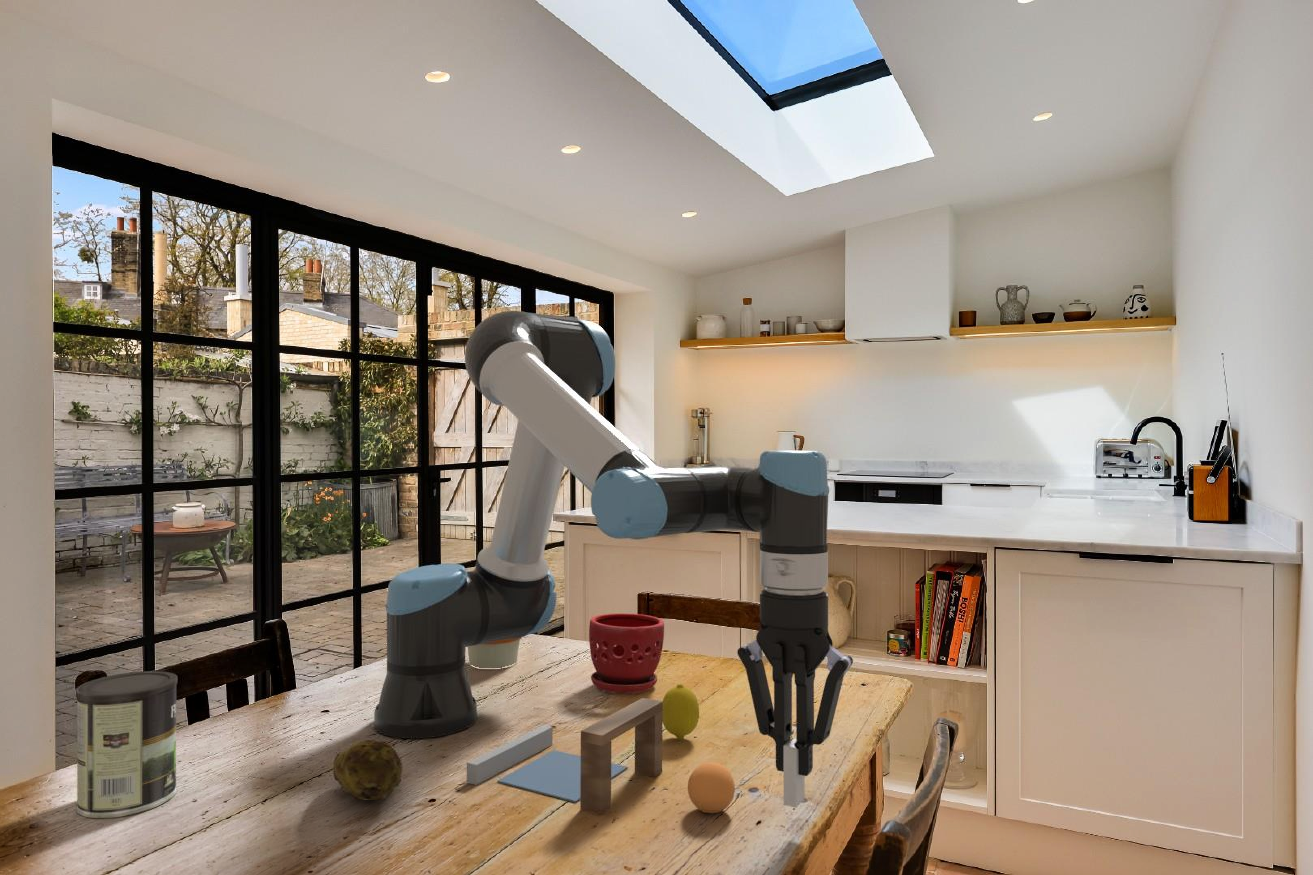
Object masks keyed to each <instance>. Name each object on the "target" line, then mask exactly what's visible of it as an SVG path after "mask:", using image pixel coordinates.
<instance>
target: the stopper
mask: <svg viewBox="0 0 1313 875" xmlns="http://www.w3.org/2000/svg"><path fill="white" fill-rule="evenodd" d="M553 728H554V727H553V726H550V725H546V724H545V725H544V724H543V725H541V726H539V727H536V728H534V729H533V730H530V731H528V732H526V733H524V734H522V735H520V736H518V737H516V738H514V739H512V740H510V741H507V742H506V743H504V744H502V745H500V746H498V747H496V748H494V749H491V750H489V751H488V752H485V753H483V754H481V755H479V756H477V757H475V758H473V759H471V760H469V761H467V762H466V783H467V784H470V785H471V784H472V785H475V786H478V785H479V784H481V783H483V782H485V781H487V780H488V779H490V778H492V777H494V776H496V775H498V774H500V773H502V772H503V771H505V770H507V769H509V768H511V767H514V766H515V765H517V764H519V763H521V762H522V761H524V760H526V759H528V758H530V757H532V756H534V755H536V754H538V753H539V752H541V751H543V750H545V749H547V748H549V747H551V746H552V745H553V738H554V737H553V734H554V733H553V731H554V730H553Z"/></svg>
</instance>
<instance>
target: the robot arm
mask: <svg viewBox="0 0 1313 875" xmlns="http://www.w3.org/2000/svg"><path fill="white" fill-rule="evenodd" d="M615 356H616V355H615V351H614V347H613V345H612V344H611V339H610V336H609V335H608V333H607V332H606V331H605V330H604V329H603V328H602V327H601V326H600V325H599V324H597V323H595V322H593V321H589V320H586V319H581V318H577V317H574V316H566V315H565V316H562V315H554V314H546V313H545V314H544V313H534V312H525V311H522V310H521V311H520V310H506V311H499V312H497V313H494V314H492V315H490V316H488V317H486V318H485V319H483V320H482V321H481V322H479V323H478V325H477V326H475V328H474V329H473V331H472V332H471V333H470V336H469V337H468V340H467V342H466V346H465V350H464V364H465V368H466V372H467V374H468V376H469V379H470V381H471V383H472V384H473V386H474V387H475V388H476V389H477V390H478V391H479V393H480V394H482V396H483V397H485V398H486V400H487V401H489V402H490V403H492V404H494V405H496V406H500V407H505V408H506V409H507V410H508V411H509V412H510V413H511V414H512V415H513V416H514V417H515V418H516V419H517V425H516V430H515V434H514V438H513V443H512V445H511V446H512V448H511V452H510V455H509V460H508V464H507V469H506V473H505V477H504V478H505V479H504V483H503V487H502V491H501V496H500V500H499V506H498V509H497V513H496V518H495V522H494V527H493V531H492V535H491V540H490V545H488V546H486V547H484V548H483V549H481V550H480V551H479V552H478V555H477V558H476V563H475V567H474V570H466V568H465V566H464V565H462V564H459V563H440V564H430V565H423V566H420V567H419V566H418V567H414V568H411V569H410V568H409V569H408V570H405V571H402V572H400V573H399V574H396V575H395V576H394V577H393V578H391V580H390V581H389V583H388V587H387V597H386V603H385V612H386V675H385V679H384V682H383V685H382V687H381V691H380V696H379V701H378V703H377V704H376V706H375V710H374V714H373V715H374V716H373V717H374V720H373V724H374V726H373V728H374V730H376V732H377V733H380V734H381V735H384V736H388V737H392V738H399V739H427V738H436V737H443V736H447V735H451V734H454V733H457V732H460V731H463V730H466V729H468V728H469V727H471V726H472V725H473V724H474V723H475V722H476V720H477V716H478V713H477V712H478V711H477V710H478V708H477V706H478V705H477V700H476V698H475V697H474V696H473V694H472V688H471V684H470V680H469V679H470V678H469V676H468V673H467V670H466V668H467V667H466V651H467V648H468V646H473V645H478V644H484V643H489V642H495V641H500V640H505V639H518V638H521V637H522V638H524V637H527V636H528V635H534V634H536V633H538V632H539V631H542V630H543V629H544V628H545V627H546V626H547V625H548V624H549V622H550V620H551V619H552V617H553V615H554V612H555V610H556V609H555V608H556V605H557V592H556V591H555V588H556V582H555V579H554V576H553V574H552V572H551V571H550V566H549V563H548V562H547V560H546V559H545V558H544V551H545V548H546V544H547V539H548V536H549V531H550V528H551V523H552V519H553V516H554V515H553V514H554V511H555V508H556V504H557V499H558V495H559V492H560V491H559V490H560V486H561V483H562V479H563V475H564V470H565V468H566V469H567V470H568V471H569V472H570V473H571V474H572V475H573V476H574V477H575V479H577V480H578V481H579V482H580V483H581V484H582V485H583V486H584V487H585V488H586V489H587V490H588V491H589V492H590V493H591V495H590V508H591V514H592V516H594V517H595V519H596V522H595V523H596V524H595V525H596V526H597V528H599V530H600V531H601V532H602V533H603V534H605V535H606V536H607V537H610V538H613V539H618V540H619V539H620V540H621V539H622V540H623V539H630V540H638V541H639V540H644V539H646V540H647V539H649V538H655V537H657V538H658V537H664V536H672V535H681V534H691V533H693V534H694V533H700V532H701V533H703V532H711V531H722V530H727V531H729V530H732V531H744V532H754V533H759V583H760V585H762V587H764V588H763V589H761V591H760V593H759V622H760V626H759V628H758V629H759V630H758V632H757V633H756V638H755V640H753V641H751V642H748V643H746V644H745V645H743V646H740V647H739V648H737V656H738V657H739V659H740V662H741V663H742V665H743V667H744V668H745V672H746V676H747V682H748V684H749V689H750V694H751V699H752V704H753V708H754V713H755V718H756V722H757V727H758V731H759V733H760V734H762V736H768V737H770V738H771V739H772V740H773V741H774V743H775V767H776V771H779V772H783V805H784V806H787V807H791V808H798V807H799V805H801V804H802V802H803V801H804V800H805V796H806V793H805V792H806V791H805V789H806V788H805V787H806V785H805V783H806V782H805V778H806V777H808V776H809V775H810V774H811V773H812V771H813V767H814V764H813V762H814V759H813V758H814V754H813V753H814V752H813V751H814V750H813V749H814V748H813V747H814V745H821V744H823V743H824V741H826V740H827V739H828V738H829V737H830V734H831V732H832V726H833V722H834V719H835V715H836V714H835V713H836V710H837V706H838V702H839V697H840V693H841V689H842V684H843V681H844V676H845V675H846V673H847V672H848V671H849V670H850V668H851V666H852V665H853V663H854V659H853V657H852V656H851V655H849V654H845V655H844V654H842V653H841V652H840V651H839V650H837V648H836V647H834V645H833V639H832V638H831V636H830V633H829V594H828V593H827V591H825V590H824V589H825V588H826V587H828V586H829V550H828V546H829V545H828V514H829V508H828V507H829V493H830V487H829V485H828V484H829V483H828V467H827V465H828V464H827V459H826V457H825V455H824V454H823V453H822V452H820V451H819V450H818V451H817V450H764V451H763V452H762V453H761V454H760V456H759V464H758V466H756V467H750V466H749V467H745V466H731V465H729V466H728V465H727V466H725V465H721V464H720V465H719V464H718V465H717V464H712V465H710V464H706V465H705V464H704V465H701V466H694V467H693V466H692V467H690V466H689V467H662V466H660V465H658V463H656V462H655V461H654V460H653V459H652V458H650V457H649V456H648V455H647V454H646V453H645V452H643V451H642V450H641V449H640V448H639V447H638V446H636V445H635V444H634V443H633V441H631V440H630V439H628V437H626V436H625V435H624V434H623V433H622V432H620V430H618V429H617V428H616V427H615V426H614V425H613V424H612V423H611V422H610V421H609V420H608V419H606V418H605V417H604V416H603V415H602V414H601V413H600V412H598V410H596V409H595V408H594V407H593V406H592V405H591V403H592V399H593V398H598V397H600V396H602V395H603V394H605V392H607V391H608V390H609V389H610V387H611V386H612V383H613V380H614V377H615V372H616V357H615ZM522 638H521V639H522ZM763 654H764V656H765V657H766V659H767V662H769V664H770V665H771V667H772V672H771V674H772V677H771V678H772V681H773V701H772V696H771V692H770V686H769V683H768V677H767V674H766V668H765V665H764V661H763ZM826 658H827V662H826V668H827V670H829V673H828V674H827V676H826V679H825V683H824V687H823V692H822V695H821V699H820V704H819V707H818V712H817V716H816V719H815V678H816V670H817V669H818V668H819V666H820V665H821V663H822V662H823V661H824V660H825V659H826ZM793 676H794V684H795V692H796V693H795V698H796V699H795V700H796V701H795V704H796V706H795V707H796V708H795V710H796V713H795V714H796V717H795V718H796V722H795V724H796V726H795V727H796V728H795V729H794V730H793V727H792V726H793V719H792V718H793V701H792V700H793ZM795 730H796V733H795V732H794V731H795ZM794 733H795V734H796V735H795V736H796V738H795V737H794V738H793V737H791V736H792V735H793V734H794Z"/></svg>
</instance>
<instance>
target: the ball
mask: <svg viewBox="0 0 1313 875" xmlns="http://www.w3.org/2000/svg"><path fill="white" fill-rule="evenodd" d="M687 782H688V783H687V794H688V796H689V799H690V801H691V802H692V804H693V805H694V806H695V808H697V809H698V810H699V811H701V812H703V813H707V814H718V813H721V812H722V811H724V810H725V809H727V808H728V807H729V806H730V805H731V803H732V801H733V799H734V797H735V790H736V789H735V788H736V787H735V780H734V778H733V775H732V774H731V772H730V771H729V770H728V769H727V768H726V767H725V766H724V765H722V764H720V763H717V762H713V761H712V762H711V761H709V762H705V763H702V764H699V765H698V766H697V767H695V768H694V769H693V771H692V772H691V773H690V775H689V779H688V781H687Z"/></svg>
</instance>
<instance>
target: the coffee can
mask: <svg viewBox="0 0 1313 875" xmlns="http://www.w3.org/2000/svg"><path fill="white" fill-rule="evenodd" d="M178 678H179V677H178V675H177V674H175V673H173V672H170V671H161V670H160V671H159V670H146V671H133V672H132V671H131V672H125V673H124V672H123V673H118V674H117V673H116V674H113V675H108V676H103V677H99V678H97V679H92V680H90V681H87V682H85V683H84V682H83V684H81V685H79V686H78V687H76V689H75V697H76V698H77V699H76V700H77V701H76V702H77V703H76V704H77V705H76V706H77V710H76V712H77V713H76V714H77V715H76V721H77V726H76V730H77V732H76V733H77V737H76V740H77V741H76V744H77V746H76V747H77V749H76V750H77V751H76V752H77V753H76V754H77V755H76V756H77V758H76V759H77V760H76V761H77V762H76V763H77V764H76V765H77V767H76V768H77V770H76V771H77V774H76V775H77V776H76V777H77V779H76V780H77V781H76V782H77V786H76V787H77V788H76V790H77V791H76V792H77V793H76V796H77V798H76V800H77V801H76V803H77V804H76V809H75V810H76V812H77V814H79V815H80V816H83V817H84V818H89V819H113V818H120V817H125V816H130V815H134V814H135V815H136V814H139V813H142V812H146V811H149V810H151V809H154V808H157V807H159V806H162V805H163V804H165V803H167V802H168V801H170V800H171V799H173V797H175V795H176V794H177V791H178V788H177V684H178Z"/></svg>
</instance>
